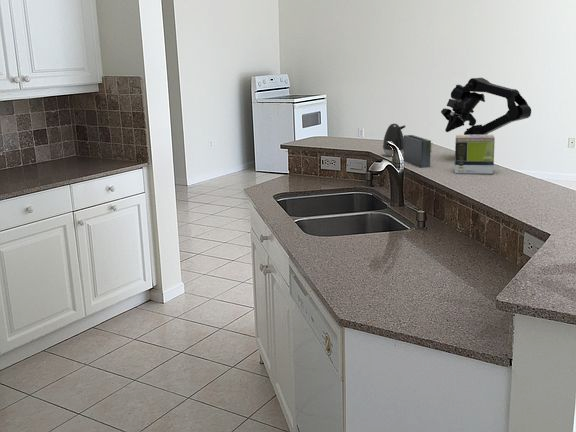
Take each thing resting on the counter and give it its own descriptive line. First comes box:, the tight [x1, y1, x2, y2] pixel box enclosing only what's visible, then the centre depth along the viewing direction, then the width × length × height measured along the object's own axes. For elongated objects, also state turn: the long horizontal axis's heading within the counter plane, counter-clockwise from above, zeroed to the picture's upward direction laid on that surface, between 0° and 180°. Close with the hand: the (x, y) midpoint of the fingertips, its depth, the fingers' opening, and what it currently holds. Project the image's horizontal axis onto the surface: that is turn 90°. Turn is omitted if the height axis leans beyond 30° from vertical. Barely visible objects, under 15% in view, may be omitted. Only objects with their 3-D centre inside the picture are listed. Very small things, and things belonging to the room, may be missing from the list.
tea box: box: [454, 134, 495, 175], centre depth 257 cm, size 15×10×15 cm
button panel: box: [402, 134, 432, 168], centre depth 279 cm, size 4×20×11 cm, turn 12°
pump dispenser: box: [382, 123, 406, 158], centre depth 300 cm, size 10×10×15 cm
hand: (446, 131), depth 280 cm, fingers closed
